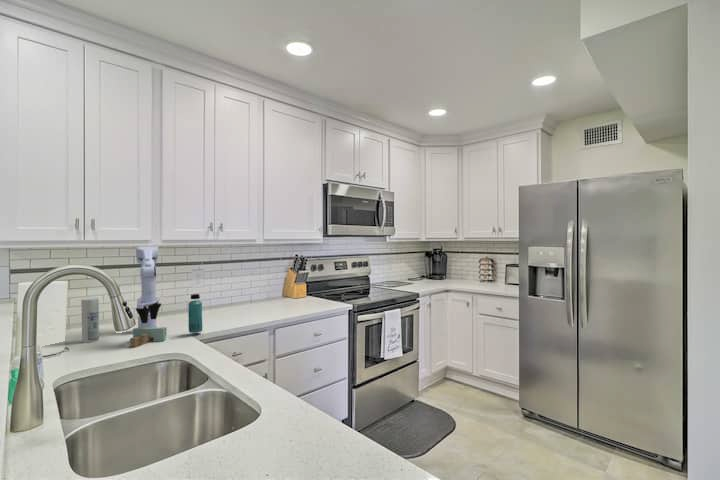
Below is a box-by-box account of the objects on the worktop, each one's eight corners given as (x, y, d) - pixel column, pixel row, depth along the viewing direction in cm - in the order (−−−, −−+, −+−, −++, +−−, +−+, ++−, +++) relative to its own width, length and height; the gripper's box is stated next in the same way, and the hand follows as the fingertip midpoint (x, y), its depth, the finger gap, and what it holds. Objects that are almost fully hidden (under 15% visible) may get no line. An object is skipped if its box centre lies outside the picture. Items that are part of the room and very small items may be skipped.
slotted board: (135, 347, 159) (135, 338, 159) (130, 347, 159) (130, 338, 159) (166, 335, 179) (166, 327, 179) (162, 335, 179) (162, 327, 179)
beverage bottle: (198, 331, 184) (198, 292, 184) (205, 334, 180) (204, 294, 180) (186, 334, 179) (185, 294, 179) (192, 336, 175) (191, 295, 175)
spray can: (90, 338, 174) (90, 297, 174) (102, 339, 173) (101, 297, 173) (78, 342, 168) (77, 299, 167) (90, 343, 167) (89, 299, 166)
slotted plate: (133, 341, 168) (132, 329, 168) (135, 340, 170) (135, 327, 170) (163, 341, 168) (163, 328, 168) (165, 340, 170) (165, 327, 170)
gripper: (148, 289, 176) (149, 317, 176) (130, 294, 161) (131, 324, 161) (163, 289, 176) (163, 317, 176) (146, 294, 162) (147, 324, 162)
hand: (149, 321), depth 169 cm, fingers open, 7 cm apart
